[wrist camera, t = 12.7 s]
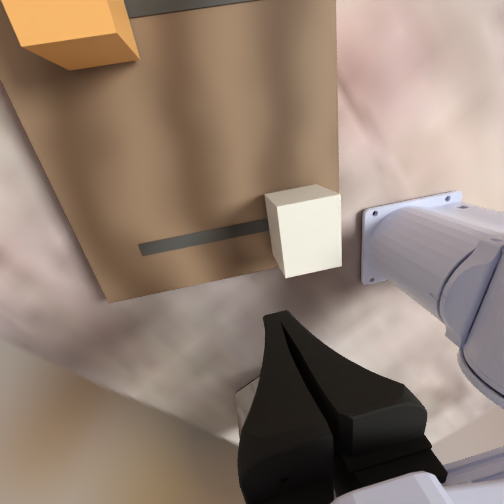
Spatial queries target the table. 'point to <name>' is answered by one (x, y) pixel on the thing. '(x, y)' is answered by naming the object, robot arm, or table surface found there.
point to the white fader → (305, 229)
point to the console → (184, 135)
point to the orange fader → (74, 31)
